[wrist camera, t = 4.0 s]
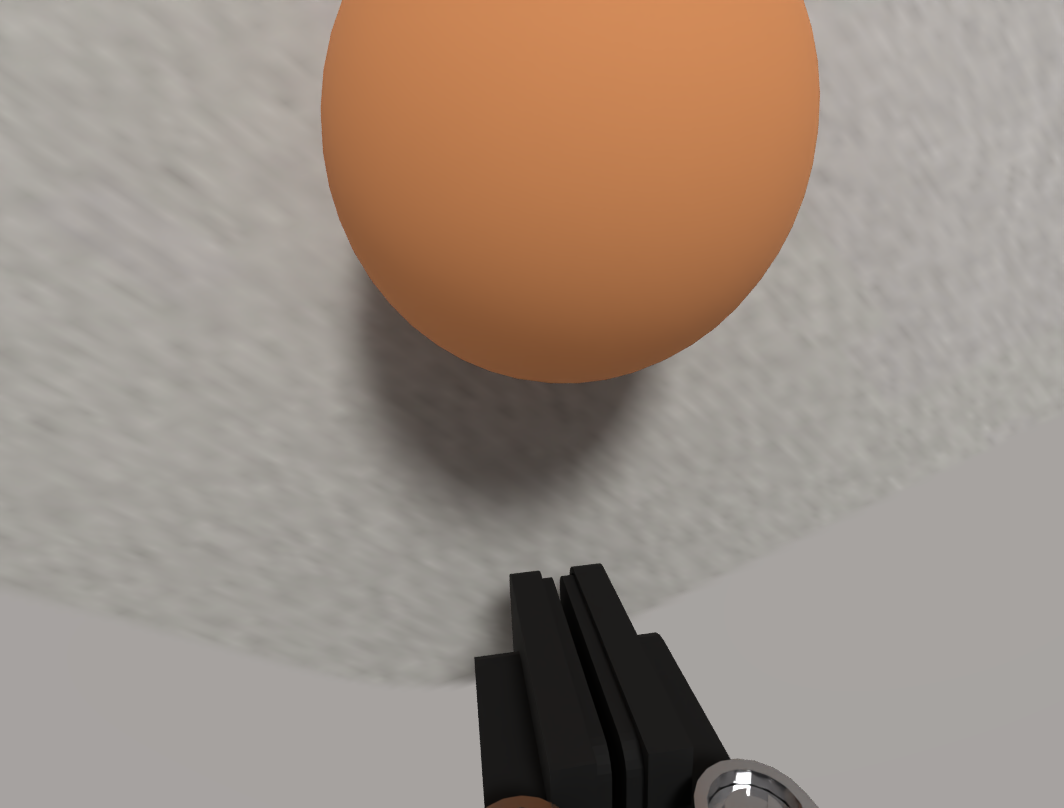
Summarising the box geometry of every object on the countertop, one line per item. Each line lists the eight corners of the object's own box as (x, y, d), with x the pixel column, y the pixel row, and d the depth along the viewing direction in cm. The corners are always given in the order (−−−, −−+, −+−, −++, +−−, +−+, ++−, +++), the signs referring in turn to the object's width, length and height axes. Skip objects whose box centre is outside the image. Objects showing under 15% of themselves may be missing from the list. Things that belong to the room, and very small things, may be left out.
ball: (694, 0, 9) (1042, -356, 4) (679, 338, 10) (915, 424, 5) (342, -13, 8) (164, -479, 3) (378, 353, 10) (299, 471, 4)
